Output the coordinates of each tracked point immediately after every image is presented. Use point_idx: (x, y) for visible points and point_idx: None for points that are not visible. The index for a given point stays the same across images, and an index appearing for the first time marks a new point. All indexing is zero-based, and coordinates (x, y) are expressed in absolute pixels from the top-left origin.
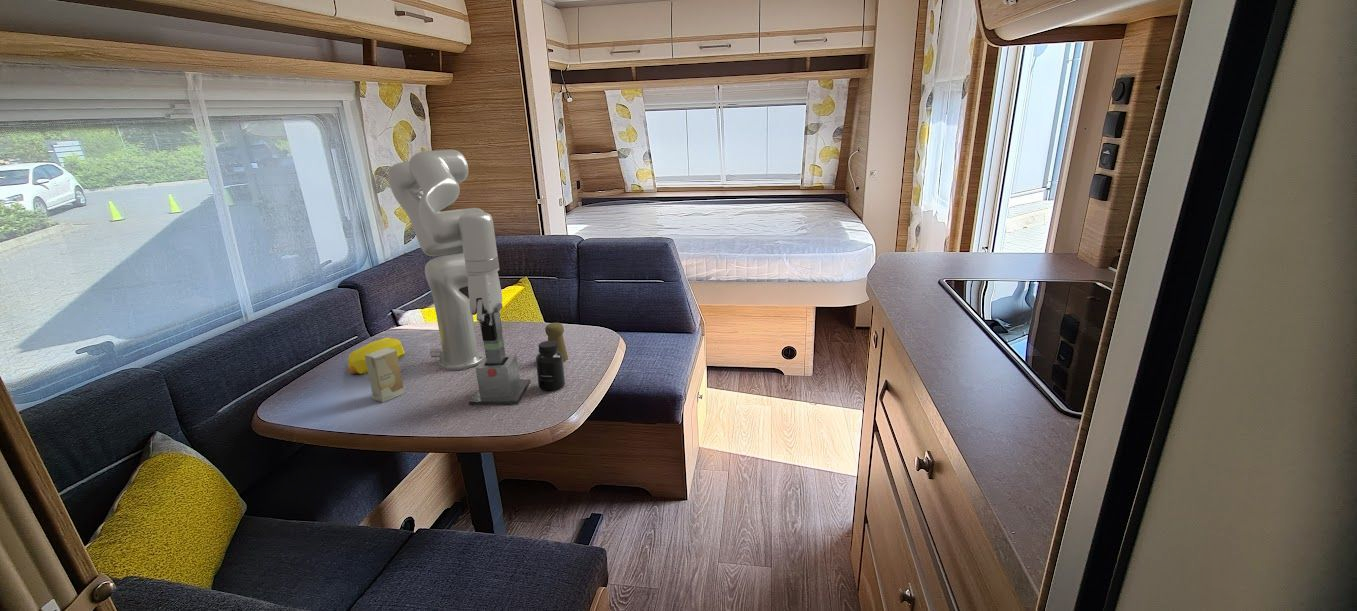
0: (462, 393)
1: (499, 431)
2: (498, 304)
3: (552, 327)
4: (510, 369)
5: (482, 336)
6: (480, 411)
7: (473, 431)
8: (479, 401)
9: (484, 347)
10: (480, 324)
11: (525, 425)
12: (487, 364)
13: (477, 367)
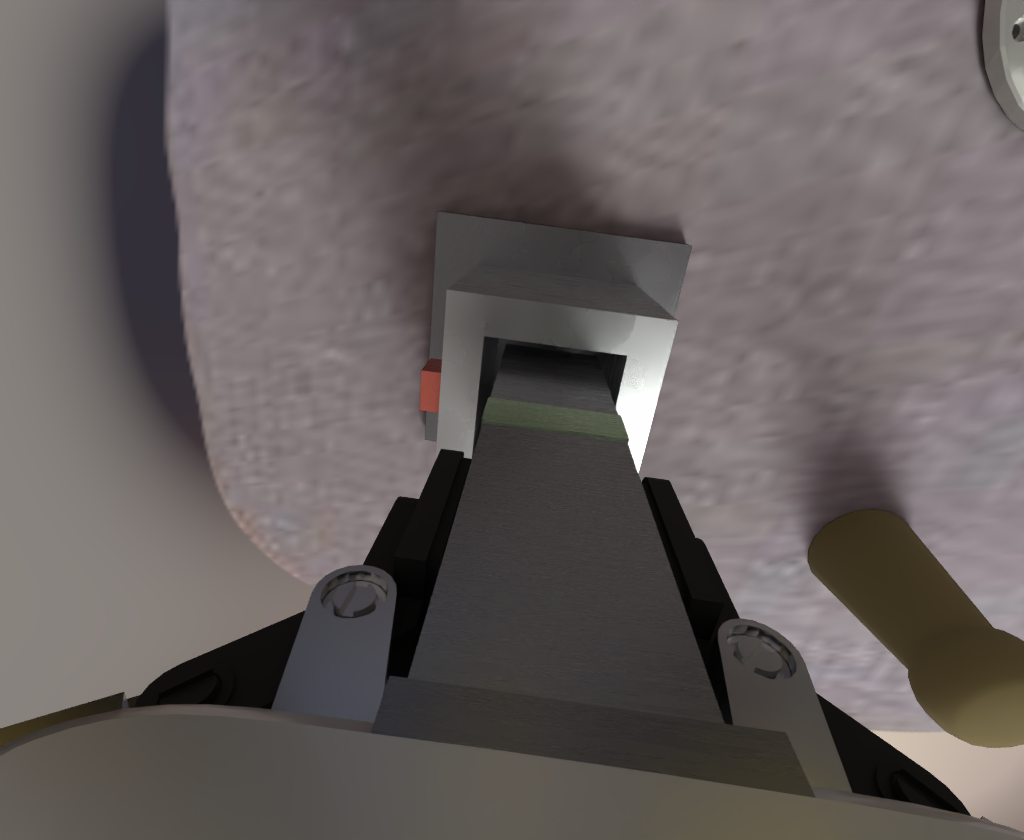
0: (593, 128)
1: (215, 394)
2: None
3: (963, 710)
4: None
5: (432, 470)
6: (377, 282)
7: (206, 290)
8: (435, 269)
9: (485, 408)
10: (316, 598)
11: (263, 476)
12: (501, 361)
13: (457, 301)
